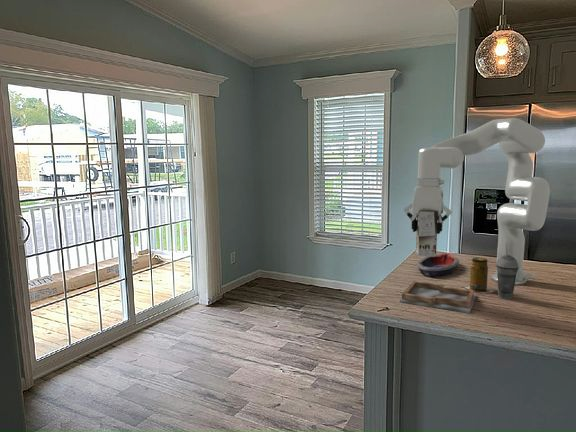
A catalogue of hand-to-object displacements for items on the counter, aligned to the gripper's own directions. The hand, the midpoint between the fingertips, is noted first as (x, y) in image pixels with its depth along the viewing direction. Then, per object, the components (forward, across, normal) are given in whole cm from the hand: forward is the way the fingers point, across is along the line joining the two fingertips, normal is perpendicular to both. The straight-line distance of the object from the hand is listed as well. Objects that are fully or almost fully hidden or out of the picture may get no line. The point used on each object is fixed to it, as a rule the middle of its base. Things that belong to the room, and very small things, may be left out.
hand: (426, 232), depth 154 cm
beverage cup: (+24, -26, -13) cm, 38 cm away
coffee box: (+8, 0, 0) cm, 8 cm away
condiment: (+24, -17, -18) cm, 35 cm away
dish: (+25, +2, -40) cm, 47 cm away
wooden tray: (+24, -6, 0) cm, 25 cm away
